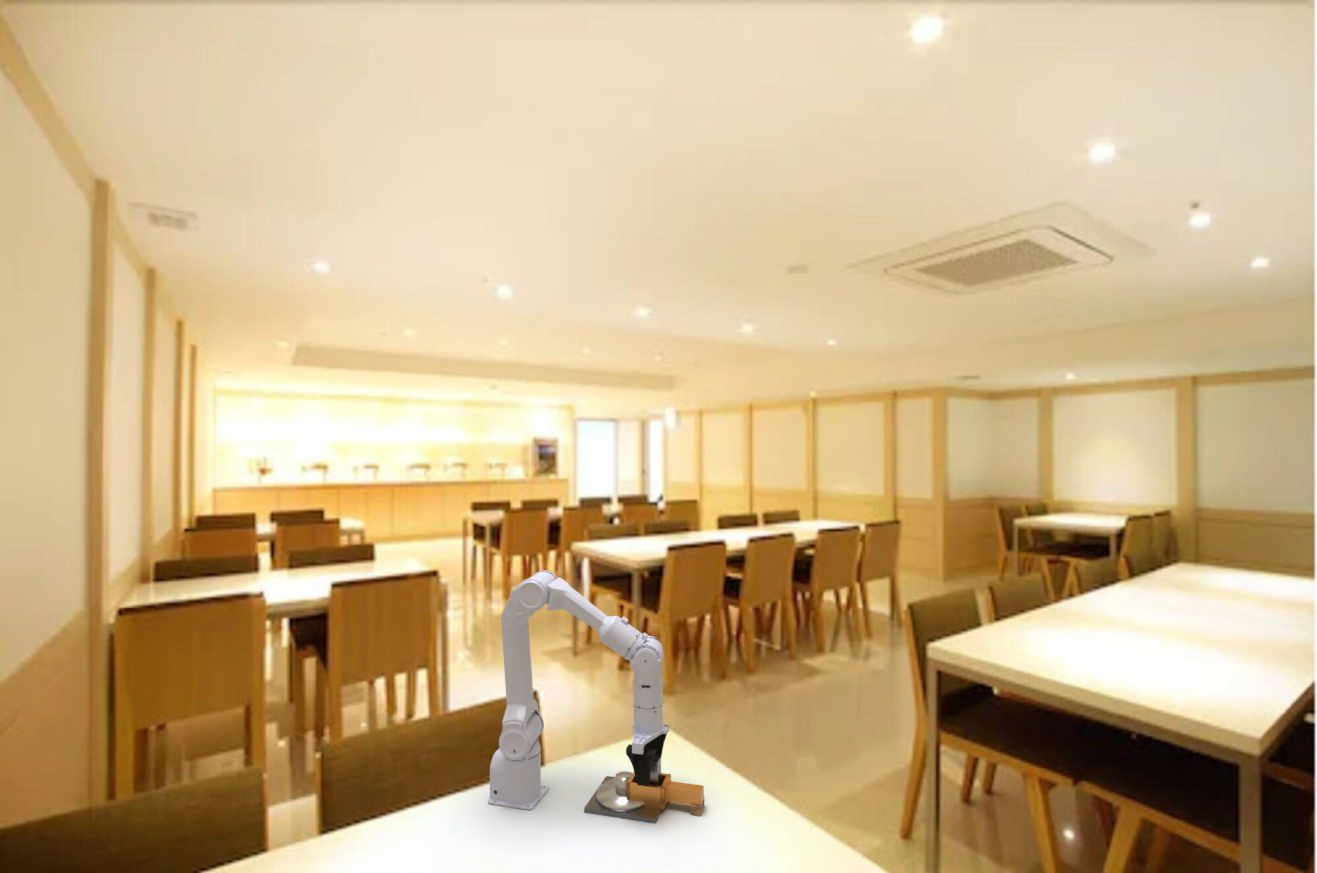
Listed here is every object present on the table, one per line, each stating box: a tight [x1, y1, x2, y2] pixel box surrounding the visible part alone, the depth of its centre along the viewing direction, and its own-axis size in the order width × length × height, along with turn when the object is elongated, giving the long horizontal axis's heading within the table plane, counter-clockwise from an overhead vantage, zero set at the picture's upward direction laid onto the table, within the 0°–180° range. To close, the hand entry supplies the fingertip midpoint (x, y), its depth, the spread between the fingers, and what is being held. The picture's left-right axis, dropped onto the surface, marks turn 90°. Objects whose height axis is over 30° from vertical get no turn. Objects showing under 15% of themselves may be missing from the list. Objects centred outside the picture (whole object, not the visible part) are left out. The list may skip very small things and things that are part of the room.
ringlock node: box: [583, 770, 705, 824], centre depth 119 cm, size 22×12×5 cm, turn 74°
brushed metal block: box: [649, 756, 662, 786], centre depth 119 cm, size 4×2×7 cm, turn 74°
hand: (648, 774), depth 119 cm, fingers open, 7 cm apart
